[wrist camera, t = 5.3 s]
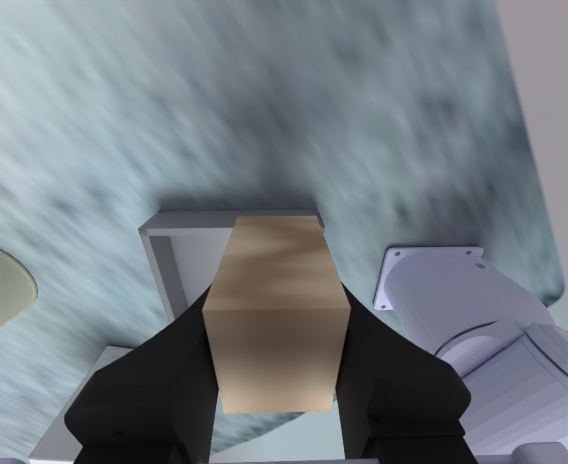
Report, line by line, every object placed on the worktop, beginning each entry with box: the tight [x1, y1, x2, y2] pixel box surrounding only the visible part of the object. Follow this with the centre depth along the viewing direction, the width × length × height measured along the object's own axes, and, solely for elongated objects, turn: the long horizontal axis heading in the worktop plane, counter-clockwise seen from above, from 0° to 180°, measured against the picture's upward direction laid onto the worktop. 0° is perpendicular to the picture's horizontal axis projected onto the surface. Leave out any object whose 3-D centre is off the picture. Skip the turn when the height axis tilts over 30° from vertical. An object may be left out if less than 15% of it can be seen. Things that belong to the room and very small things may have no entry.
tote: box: [138, 209, 325, 324], centre depth 23 cm, size 14×18×4 cm
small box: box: [28, 346, 134, 464], centre depth 26 cm, size 8×6×10 cm
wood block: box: [202, 216, 351, 414], centre depth 11 cm, size 4×6×7 cm
